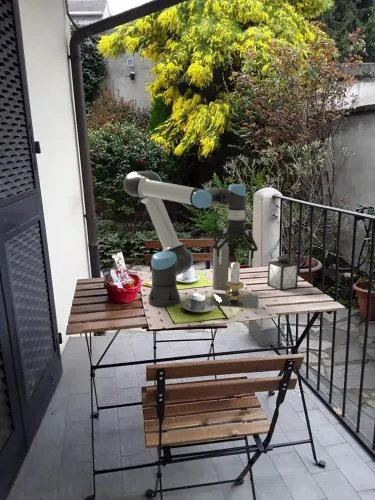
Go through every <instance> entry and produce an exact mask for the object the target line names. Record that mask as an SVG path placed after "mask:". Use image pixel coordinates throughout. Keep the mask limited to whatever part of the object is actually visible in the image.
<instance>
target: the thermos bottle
mask: <svg viewBox="0 0 375 500" xmlns="http://www.w3.org/2000/svg"><path fill="white" fill-rule="evenodd" d="M218 237H219V235H217V236H216V240H217V239H218ZM226 238H227V236H225V235H223V236H222V237H221V239H220V241H219V243H218V245H217V246H219V245H220V244H221V243H222V242H223V241H224V240H225V239H226ZM215 243H216V241H215V242H214V244H215ZM228 245H229V243H228V241H227V242H226V243H225V244H224V245H223V246H222V247H221V249H222V255H221V264H219V257H217V250H216V249H214V248H213V247H212V248H213V251H212V252H213V254H212V256H213V257H212V264H213V265H212V272H213V273H212V290H214V291H226V292H227V290H229V288H227V287H226V282H229V261H230V260H229V258H230V256H229V255H230V247H229V246H228Z"/></svg>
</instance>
